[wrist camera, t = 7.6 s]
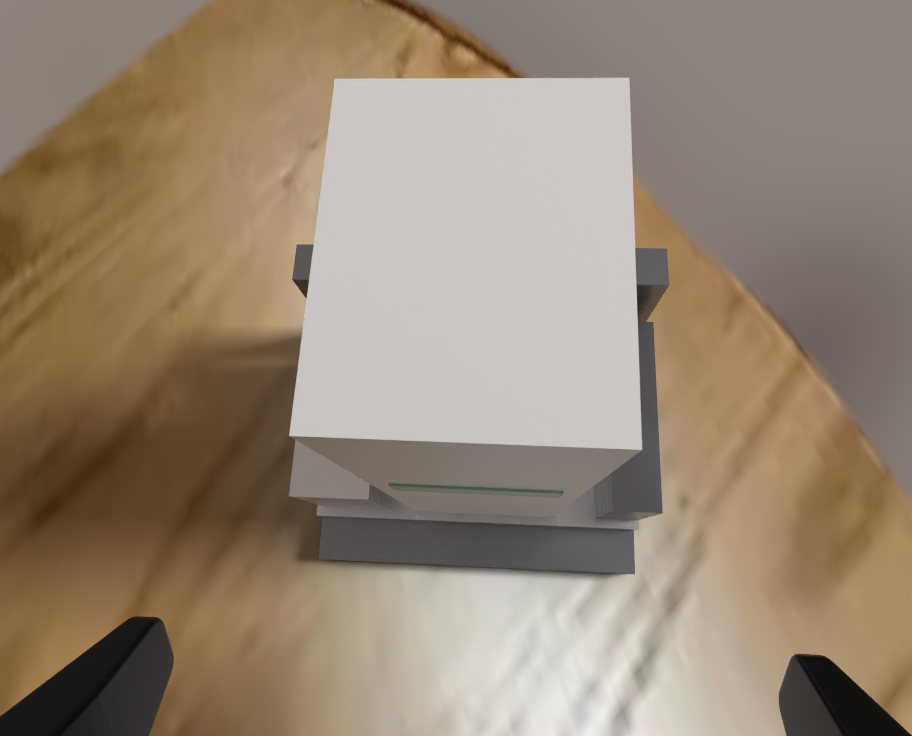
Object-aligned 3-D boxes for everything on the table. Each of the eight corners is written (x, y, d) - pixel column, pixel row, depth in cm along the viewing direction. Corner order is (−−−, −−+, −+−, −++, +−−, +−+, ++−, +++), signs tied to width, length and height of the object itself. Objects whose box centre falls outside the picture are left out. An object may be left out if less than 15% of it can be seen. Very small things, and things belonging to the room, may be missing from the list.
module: (551, 519, 18) (642, 454, 7) (416, 513, 19) (288, 440, 7) (552, 354, 20) (628, 75, 8) (427, 350, 20) (335, 76, 9)
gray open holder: (629, 573, 19) (685, 579, 14) (325, 558, 20) (255, 558, 14) (621, 328, 22) (666, 244, 16) (348, 323, 22) (297, 240, 16)
